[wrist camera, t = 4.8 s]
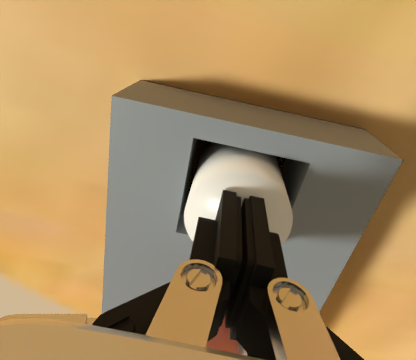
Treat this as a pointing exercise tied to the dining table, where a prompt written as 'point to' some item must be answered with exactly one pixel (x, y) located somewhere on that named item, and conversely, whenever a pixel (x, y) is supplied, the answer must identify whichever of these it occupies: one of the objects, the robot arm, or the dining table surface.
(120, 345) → the robot arm
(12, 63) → the dining table surface
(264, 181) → the domed peg
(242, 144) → the panel
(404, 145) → the dining table surface
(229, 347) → the red plug
